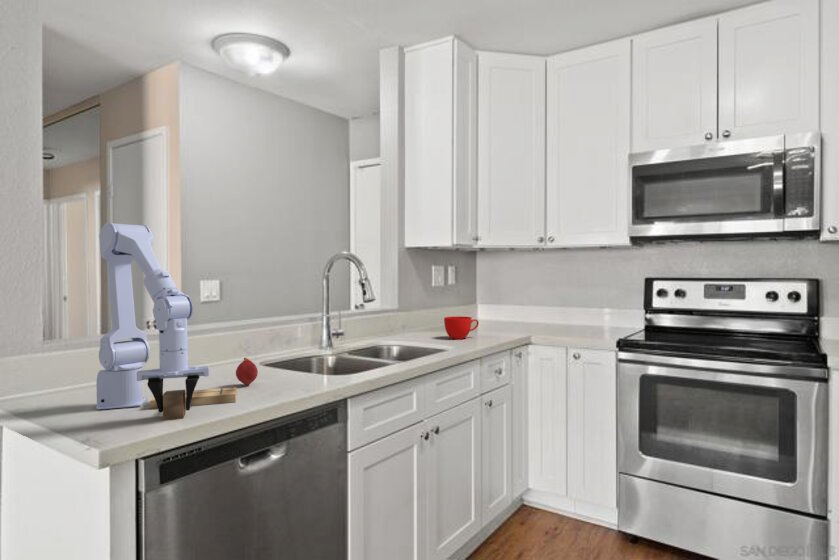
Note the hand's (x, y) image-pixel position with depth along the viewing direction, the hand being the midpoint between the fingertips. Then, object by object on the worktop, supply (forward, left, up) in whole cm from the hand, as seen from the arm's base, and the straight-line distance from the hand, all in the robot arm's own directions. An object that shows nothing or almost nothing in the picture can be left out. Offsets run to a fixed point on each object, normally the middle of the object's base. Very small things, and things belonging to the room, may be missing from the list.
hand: (174, 410), depth 114 cm
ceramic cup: (+111, +100, -2) cm, 149 cm away
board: (+3, +13, -1) cm, 13 cm away
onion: (+15, +28, -2) cm, 32 cm away
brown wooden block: (0, +2, -2) cm, 3 cm away
